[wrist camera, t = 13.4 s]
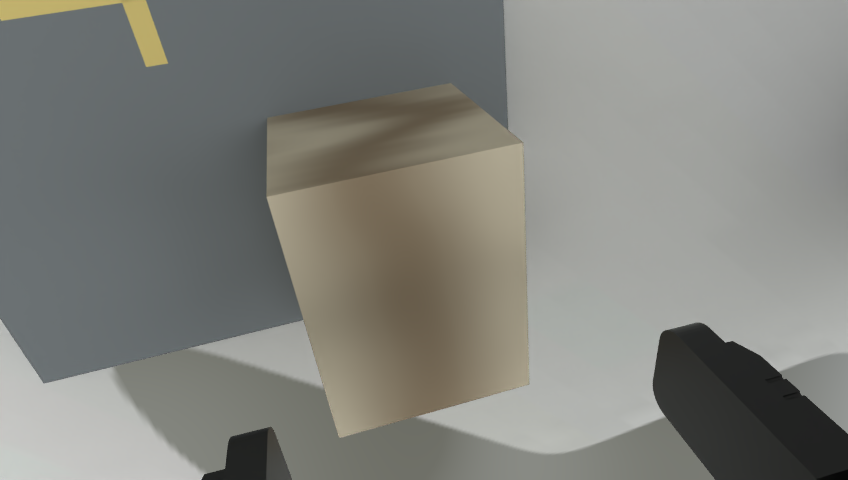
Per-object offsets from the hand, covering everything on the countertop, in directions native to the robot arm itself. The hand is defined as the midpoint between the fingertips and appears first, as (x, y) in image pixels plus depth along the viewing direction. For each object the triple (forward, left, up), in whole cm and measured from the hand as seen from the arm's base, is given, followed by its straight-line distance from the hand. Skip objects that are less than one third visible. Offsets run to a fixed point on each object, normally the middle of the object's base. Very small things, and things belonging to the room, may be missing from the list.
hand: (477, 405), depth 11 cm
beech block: (0, 0, -10) cm, 10 cm away
